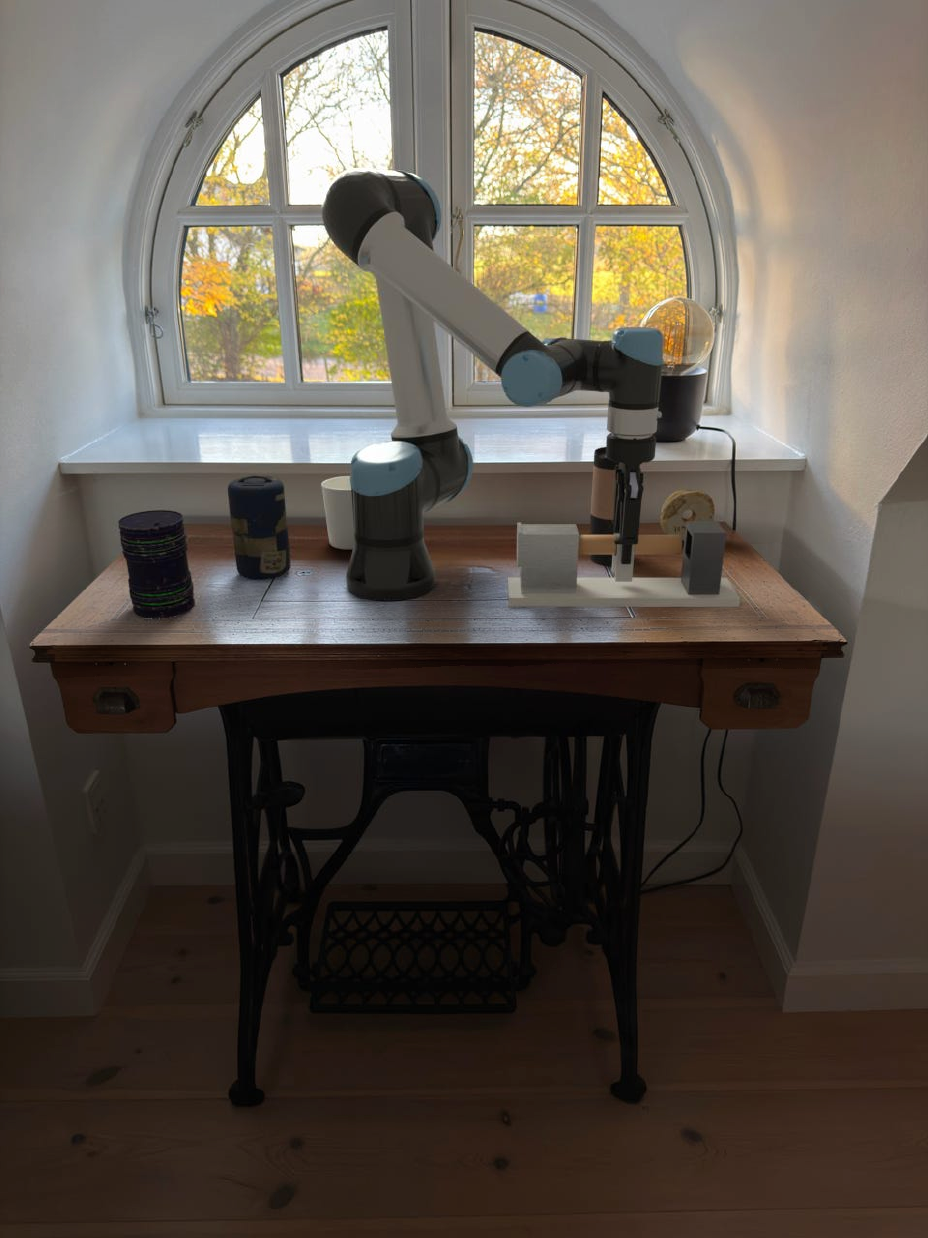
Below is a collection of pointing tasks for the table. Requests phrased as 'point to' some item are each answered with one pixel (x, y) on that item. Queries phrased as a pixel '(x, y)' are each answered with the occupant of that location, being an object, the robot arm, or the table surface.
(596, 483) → the travel mug
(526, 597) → the baseboard
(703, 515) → the stone disc
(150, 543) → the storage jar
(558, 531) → the light grey block
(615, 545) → the orange tube
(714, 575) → the charcoal socket
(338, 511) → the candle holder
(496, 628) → the table surface
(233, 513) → the canister
